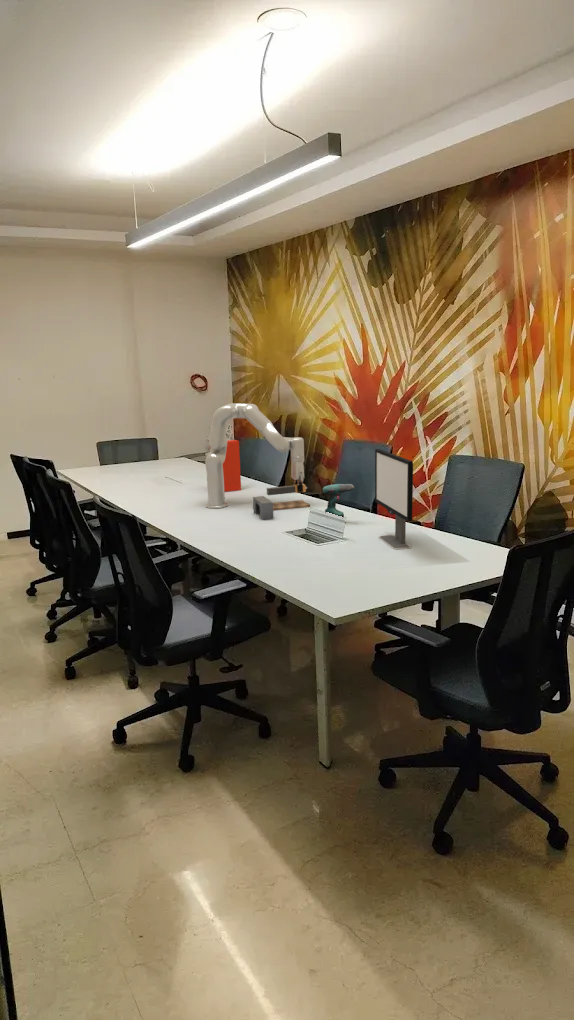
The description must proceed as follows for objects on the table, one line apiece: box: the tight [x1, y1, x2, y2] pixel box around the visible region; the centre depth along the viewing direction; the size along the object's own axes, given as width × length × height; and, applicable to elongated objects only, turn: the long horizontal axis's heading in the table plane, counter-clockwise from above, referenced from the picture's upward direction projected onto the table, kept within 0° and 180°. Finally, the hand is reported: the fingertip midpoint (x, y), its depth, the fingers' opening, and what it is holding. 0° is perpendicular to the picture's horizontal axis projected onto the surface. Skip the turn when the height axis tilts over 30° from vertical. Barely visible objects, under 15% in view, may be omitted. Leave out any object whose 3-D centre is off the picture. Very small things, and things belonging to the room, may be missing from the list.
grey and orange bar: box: [266, 483, 308, 496], centre depth 371 cm, size 23×4×4 cm, turn 108°
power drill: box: [322, 483, 355, 518], centre depth 332 cm, size 7×16×20 cm, turn 70°
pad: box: [273, 499, 311, 512], centre depth 372 cm, size 26×14×1 cm, turn 108°
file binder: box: [223, 439, 242, 493], centre depth 419 cm, size 8×17×32 cm, turn 111°
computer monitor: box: [374, 448, 414, 551], centre depth 290 cm, size 41×8×40 cm, turn 12°
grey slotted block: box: [252, 495, 274, 521], centre depth 351 cm, size 6×18×9 cm, turn 18°
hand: (298, 490), depth 373 cm, fingers closed on grey and orange bar, 4 cm apart
